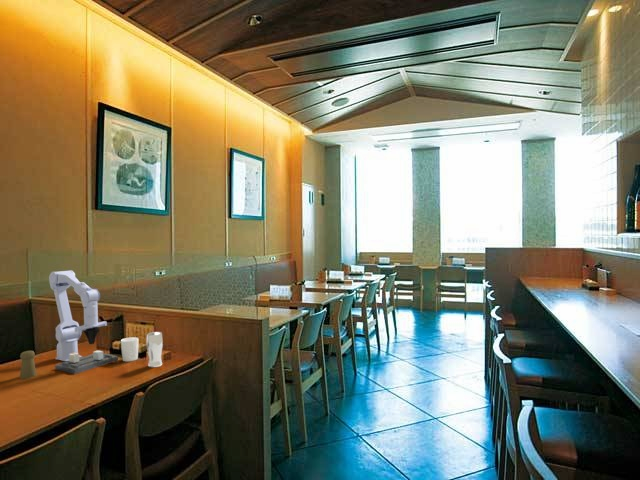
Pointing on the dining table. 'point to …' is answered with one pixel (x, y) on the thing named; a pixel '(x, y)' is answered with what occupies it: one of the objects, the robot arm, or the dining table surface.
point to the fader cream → (73, 357)
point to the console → (85, 363)
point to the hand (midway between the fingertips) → (91, 343)
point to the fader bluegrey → (98, 355)
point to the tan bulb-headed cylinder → (27, 365)
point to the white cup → (129, 348)
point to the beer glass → (154, 348)
